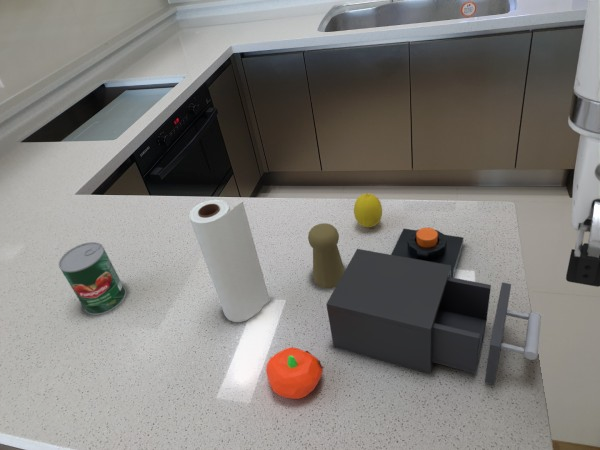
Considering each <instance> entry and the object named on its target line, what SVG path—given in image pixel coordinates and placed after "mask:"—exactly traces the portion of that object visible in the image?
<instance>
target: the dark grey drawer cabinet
mask: <svg viewBox="0 0 600 450" xmlns="http://www.w3.org/2000/svg"><path fill="white" fill-rule="evenodd" d="M448 277H451V265H445V264H440V263H434V262H429V261H423V260H417V259H412V258H406V257H401V256H395V255H391V254H389V253H383V252H378V251H372V250H367V249H361V248H356V250H355V252H354V254H353V255H352V257H351V259H350V261H349V262H348V264H347V266H346V267H345V271H344V273H343V275H342V277H341V279H340V280H339V282H338V284H337V286H336V287H334V288H333V291H332V293H331V295H330V297H328V300H327V302H326V310H327V315H328V322H329V327H330V333H331V339H332V346H333V348H335V349H338V350H342V351H346V352H350V353H353V354H355V355H356V354H357V355H360V356H363V357H366V358H367V357H368V358H371V359H374V360H377V361H381V362H385V363H388V364H392V365H395V366H397V367H398V366H399V367H402V368H406V369H409V370H413V371H417V372H420V373H424V374H427V375H431V373H432V370H433V366H434V364H435V363H434V362H432V328H433V325H434V322H435V319H436V315H437V312H438V309H439V306H440V303H441V300H442V296H443V293H444V290H445V287H446V284H447V281H448Z"/></svg>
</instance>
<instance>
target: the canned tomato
mask: <svg viewBox="0 0 600 450" xmlns="http://www.w3.org/2000/svg"><path fill="white" fill-rule="evenodd" d="M58 268H59V270H60V271H61V272H62V274H63V277H65V279H66V280H67V283H68V285H69V286H70V288H71V289H72V290H73V293H74V294H75V296H76V298H77V299H78V301H79V302H80V304H81V305H82V308H83V309H84V311H85V312H86V313H87V314H88V315H92V316H99V315H103V314H107V313H109V312H111V311H113V310H115V309H116V308H117V307H119V306H120V305H121V304H122V303H123V302H124V300H125V298H126V295H127V290H126V288H125V287H124V284H123V282H122V281H121V278H120V277H119V275H118V272H117V271H116V269H115V267H114V265H113V263H112V261H111V259H110V257H109V255H108V253H107V251H106V250H105V247H104V245H103V244H102V243H100V242H96V241H89V242H84V243H81V244H79V245H76V246H74V247H72V248H71V249H69V250H68V251H66V252H65V253H64V254H63V255H62V256H61V258H59V261H58Z"/></svg>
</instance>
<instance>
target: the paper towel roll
mask: <svg viewBox="0 0 600 450" xmlns="http://www.w3.org/2000/svg"><path fill="white" fill-rule="evenodd" d="M229 205H230V204H229V202H228V203H227V201H225V200H222V199H209V200H205V201H202V202H200V203H199V204H197V205H195V206H194V207H193V208H191V210H190V212H189V214H188V215H189V216H188V217H189V222H190V224H191V227H192V230H193V232H194V235H195V238H196V240H197V244H198V247H199V249H200V251H201V255H202V257H203V260H204V262H205V265H206V269H207V270H208V274H209V276H210V278H211V281H212V285H213V287H214V290H215V292H216V295H217V299H218V301H219V304H220V306H221V309H222V311H223V314H224V316H225V318H226V319H227V320H228V321H230V322H232V323H242V322H243V323H244V322H246V321H248V320H250V319H252V318H253V317H255V316H256V315H257V314H259V313H260V311H261V310H262V309H263V308H264V306H265V305H267V304H268V303H270V302H271V299H270V295H269V291H268V288H267V283H266V281H265V278H264V273H263V269H262V266H261V263H260V258H259V256H258V251H257V247H256V244H255V241H254V237H253V233H252V229H251V226H250V222H249V219H248V215H247V211H246V208H245V204H244V201H242V202H241V201H240V202H239V203H237V204H236V205H235V206H233V207H232V208H230V206H229Z"/></svg>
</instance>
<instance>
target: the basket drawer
mask: <svg viewBox="0 0 600 450" xmlns="http://www.w3.org/2000/svg"><path fill="white" fill-rule="evenodd" d="M511 287H512V284H511V283H508V282H501V285H500V289H499V290H500V291H499V296H498V300H497V304H496V311H495V316H494V321H493V326H492V332H491V337H490V341H489V349H488V356H487V363H486V369H485V370H486V371H485V379H484V383H486V384H489V385H493V386H495V384H496V379H497V373H498V367H499V360H500V356H501V355H500V354H501V350H503V351H508V352H512V353H517V354H519V355H523V356H524V357H525V359H527V360H531V361H535V360H537V359H538V354H539V353H538V352H539V345H540V334H541V323H542V315H541V314H540V313H539V312H537V311H530V312H529V313H527V312H525V313H524V312H520V311H514V310H511V309H508V308H509V307H508V305H509V300H510V294H511V289H512V288H511ZM491 290H492V285H491V284H488V283H483V282H477V281H473V280H467V279H461V278H456V277H453V278H452V277H448V281H447V284H446V287H445V290H444V293H443V296H442V300H441V303H440V306H439V309H438V312H437V315H436V319H435V322H434V325H433V328H432V362H434V363H433V364H437V365H442V366H445V367H449V368H453V369H456V370H461V371H464V372H467V373H471V374H477V369H478V365H479V359H480V354H481V350H482V344H483V340H484V335H485V330H486V325H487V321H488V313H489V307H490V306H489V305H490V298H491V297H490V296H491ZM507 316H508V317H513V318H517V319H522V320H525V321H526V320H527V328H526V334H525V342H524V347H522V346H517V345H513V344H510V343H505V342H503V338H504V332H505V326H506V320H507Z"/></svg>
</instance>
